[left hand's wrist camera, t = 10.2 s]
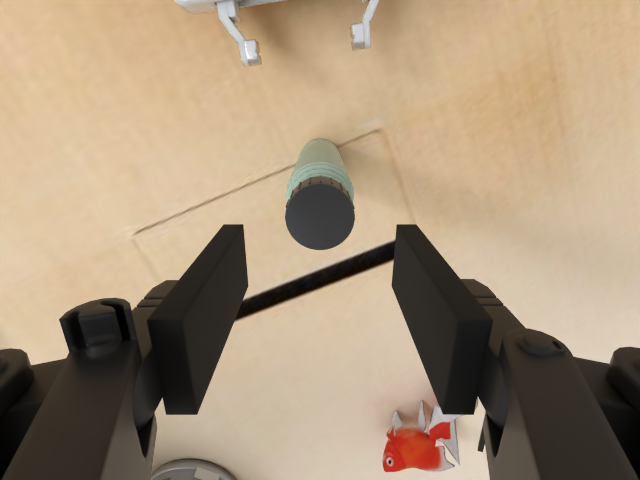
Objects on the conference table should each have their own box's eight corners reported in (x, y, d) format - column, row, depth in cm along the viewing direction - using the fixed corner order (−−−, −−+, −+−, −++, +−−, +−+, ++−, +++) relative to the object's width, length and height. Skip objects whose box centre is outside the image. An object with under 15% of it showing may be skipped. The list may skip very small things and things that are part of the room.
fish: (358, 414, 46) (409, 490, 39) (446, 352, 51) (507, 410, 44) (365, 445, 53) (409, 515, 46) (442, 388, 58) (494, 443, 50)
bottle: (318, 188, 40) (316, 268, 20) (291, 158, 39) (261, 212, 19) (348, 161, 39) (377, 219, 19) (321, 130, 38) (323, 156, 18)
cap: (317, 249, 22) (317, 264, 20) (274, 204, 21) (269, 215, 19) (365, 209, 21) (369, 221, 19) (322, 161, 20) (323, 167, 18)
